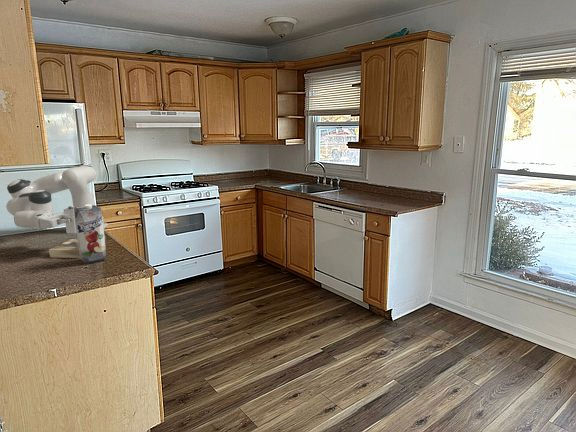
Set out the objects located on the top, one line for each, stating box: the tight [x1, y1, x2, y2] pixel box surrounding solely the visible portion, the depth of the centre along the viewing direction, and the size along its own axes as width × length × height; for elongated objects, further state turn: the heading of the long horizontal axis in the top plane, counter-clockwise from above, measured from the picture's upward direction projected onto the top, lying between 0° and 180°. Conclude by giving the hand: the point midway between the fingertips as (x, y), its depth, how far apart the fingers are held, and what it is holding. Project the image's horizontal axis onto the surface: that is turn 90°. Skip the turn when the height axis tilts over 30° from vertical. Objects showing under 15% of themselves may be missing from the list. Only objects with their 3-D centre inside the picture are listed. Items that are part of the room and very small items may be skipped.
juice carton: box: [74, 204, 107, 265], centre depth 186 cm, size 9×10×27 cm
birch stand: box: [48, 238, 81, 259], centre depth 201 cm, size 18×16×8 cm
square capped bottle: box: [63, 205, 77, 234], centre depth 199 cm, size 4×4×13 cm
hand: (73, 219), depth 199 cm, fingers closed on square capped bottle, 4 cm apart
